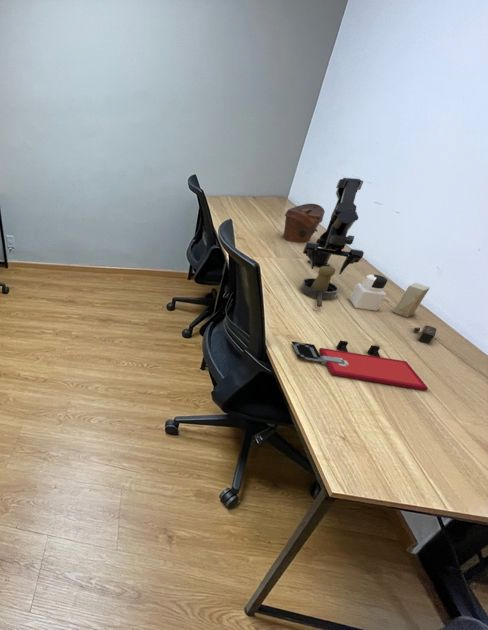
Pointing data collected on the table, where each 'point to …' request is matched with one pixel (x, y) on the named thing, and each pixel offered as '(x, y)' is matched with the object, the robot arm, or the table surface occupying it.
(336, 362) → the red board with handle
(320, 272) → the cork
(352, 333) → the table surface
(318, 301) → the pan handle
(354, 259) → the robot arm
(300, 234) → the case
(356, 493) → the table surface
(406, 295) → the box
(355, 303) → the medicine bottle
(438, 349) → the table surface
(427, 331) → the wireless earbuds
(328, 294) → the pan
